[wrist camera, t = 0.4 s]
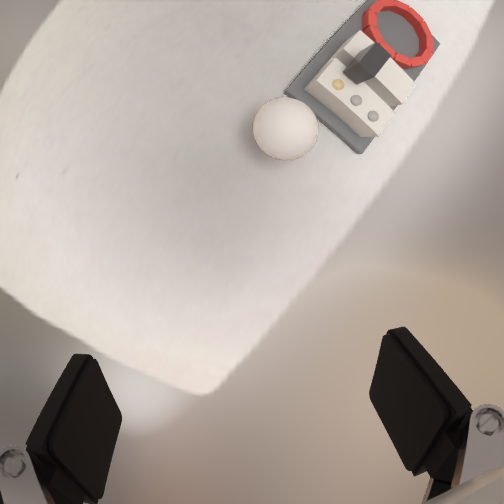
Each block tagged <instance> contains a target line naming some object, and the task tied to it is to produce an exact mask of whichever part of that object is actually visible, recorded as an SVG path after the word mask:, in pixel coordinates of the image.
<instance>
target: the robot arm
mask: <svg viewBox="0 0 504 504" xmlns="http://www.w3.org/2000/svg"><path fill="white" fill-rule="evenodd" d="M369 395H370V400H371V402H372V404H373V406H374V408H375V410H376V411H377V413H378V415H379V417H380V419H381V421H382V423H383V425H384V427H385V429H386V431H387V433H388V434H389V436H390V438H391V440H392V442H393V444H394V446H395V448H396V450H397V452H398V454H399V456H400V458H401V460H402V462H403V464H404V466H405V468H406V469H407V470H408V471H412V473H413V475H414V476H417V475H419V474H421V473H424V472H426V471H427V472H428V474H429V475H430V480H429V483H428V486H427V489H426V492H425V495H424V497H423V500H422V503H421V504H504V411H502V409H500V408H499V407H497V406H495V405H491V404H484V405H480V406H478V407H477V408H475V409H474V411H473V410H472V409H471V404H470V402H469V401H468V400H467V399H466V397H465V396H464V395H463V394H462V392H461V391H460V390H459V389H458V387H457V386H456V385H455V384H454V383H453V381H452V380H451V379H450V378H449V376H448V375H447V374H446V373H445V372H444V371H443V369H442V368H441V367H440V366H439V365H438V364H437V362H436V361H435V360H434V359H433V358H432V356H431V355H430V354H429V353H428V352H427V351H426V350H425V348H424V347H423V346H422V345H421V344H420V343H419V342H418V340H417V339H416V338H415V337H414V336H413V335H412V334H411V333H410V331H409V330H408V329H407V328H406V327H399V328H395V329H390V330H388V331H387V334H386V335H384V336H383V339H382V342H381V347H380V351H379V356H378V360H377V364H376V368H375V372H374V376H373V380H372V383H371V387H370V391H369ZM121 422H122V415H121V412H120V410H119V408H118V406H117V404H116V402H115V399H114V398H113V395H112V393H111V391H110V389H109V387H108V385H107V382H106V380H105V378H104V376H103V373H102V371H101V368H100V366H99V364H98V362H97V360H96V359H93V357H92V356H91V355H89V354H74V355H73V356H72V358H71V359H70V361H69V363H68V364H67V366H66V368H65V369H64V371H63V373H62V375H61V377H60V378H59V380H58V382H57V383H56V385H55V387H54V389H53V391H52V393H51V394H50V396H49V398H48V400H47V402H46V404H45V406H44V407H43V409H42V411H41V413H40V415H39V417H38V419H37V421H36V423H35V425H34V427H33V429H32V431H31V433H30V435H29V437H28V440H27V442H26V445H27V448H26V450H25V449H24V448H22V447H20V446H15V445H12V446H8V447H6V448H4V449H3V450H1V451H0V504H83V502H85V503H89V504H97V503H98V499H101V498H102V497H103V494H104V489H105V484H106V481H107V476H108V472H109V468H110V463H111V459H112V456H113V452H114V448H115V444H116V441H117V437H118V433H119V430H120V426H121Z"/></svg>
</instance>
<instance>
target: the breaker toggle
mask: <svg viewBox="0 0 504 504" xmlns="http://www.w3.org/2000/svg"><path fill="white" fill-rule="evenodd" d="M390 57H391V54H390V53H388V52H387V51H386V50H385V49H384V48H383V47H382V46H381V45H380V44H379V43H378V42H377V41H376V42H374V43H373V44H371V45H370V46H368V47H366V48H365V49H363V50H362V51H360V52H359V53H358V54H357V55H356V57H355V58H354V59H353V60H352V61H351V63H350V64H349V65H348V66H347V67H346V69H345V70H344V71H343V73H344V74H346V75H347V76H348V77H349V78H350V79H351V80H352V81H354V82H355V83H356V84H359V83H362V82H364V81H367V80H369V79H371V78H374V77H375V76H376V74H377V73H378V72H379V71H380V69H381V68H382V67H383V65H384V64H385V63H386V62H387V60H388V59H389V58H390Z"/></svg>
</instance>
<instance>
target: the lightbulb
mask: <svg viewBox="0 0 504 504" xmlns="http://www.w3.org/2000/svg"><path fill="white" fill-rule="evenodd" d="M253 133H254V138H255V140H256V142H257V144H258V146H259V147H260V148H261V149H262V150H263V151H264V152H265V153H266V154H268V155H269V156H271V157H273V158H276V159H280V160H294V159H297V158H300V157H302V156H304V155H305V154H307V153H308V152H309V151H310V150H311V149H312V147H313V146H314V144H315V142H316V140H317V137H318V122H317V119H316V117H315V115H314V113H313V111H312V110H311V109H310V108H309V107H308V106H307V105H306V104H304V103H303V102H301V101H299V100H297V99H293V98H286V97H282V98H276V99H273V100H271V101H269V102H267V103H266V104H264V105H263V106H262V107H261V108H260V110H259V111H258V112H257V114H256V116H255V119H254V123H253Z"/></svg>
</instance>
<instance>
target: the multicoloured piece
mask: <svg viewBox="0 0 504 504" xmlns="http://www.w3.org/2000/svg"><path fill="white" fill-rule="evenodd" d="M423 20H424V19H423V18H422V17H421V16H420V15H419V14H418V13H417V12H416V11H415V10H414V9H413V8H412V7H410V6H408V5H406V4H404V3H402V2H400V1H397V0H367V1H366V2H365V3H364V4H363V5H362V6H361V7H360V8H359V9H358V10H357V11H356V12H355V13H354V14H353V16H352V17H351V18H350V19H349V20H348V21H347V22H346V23H345V24H344V25H343V26H342V27H341V28H340V29H339V30H338V31H337V32H336V34H335V35H334V36H333V37H332V38H331V39H330V40H329V41H328V42H327V43H326V44H325V46H324V47H323V48H322V49H321V50H320V51H319V52H318V53H317V55H316V56H315V57H314V58H313V59H312V60H311V61H310V62H309V64H308V65H307V66H306V67H305V68H304V69H303V71H302V72H301V73H300V74H299V75H298V76H297V78H296V79H295V80H294V81H293V82H292V84H291V85H290V86H289V87H288V88H287V90H286V91H285V92H284V93H285V94H286V95H288V96H289V97H290V98H293V99H297V100H299V101H301V102H303V103H304V104H306V105H307V106H308V107H309V108H310V109H311V110H312V111H313V113H314V115H315V117H316V118H317V119H318V120H319V121H321V122H322V123H323V124H324V125H325V126H327V127H328V128H329V129H330V130H331V131H332V132H334V133H335V134H336V135H337V136H338V137H339V138H340V139H342V140H343V141H344V142H345V143H346V144H347V145H348V146H349V147H350V148H352V149H353V150H354V151H355V152H356V153H357V154H362V153H363V152H364V151H365V149H366V148H367V146H368V145H369V144H370V142H371V141H372V140H373V138H374V137H376V136H380V135H381V133H382V132H383V131H384V129H385V128H386V126H387V125H388V124H389V122H390V121H391V119H392V118H393V117H394V115H395V114H396V113H395V112H394V109H395V108H396V107H397V105H400V104H403V103H404V101H405V100H406V98H407V97H408V95H409V94H410V93H411V91H412V90H413V88H414V87H415V85H416V83H415V82H414V81H415V80H416V78H417V77H418V75H419V74H420V72H421V71H422V70H423V68H424V67H425V65H426V64H427V62H428V61H429V59H430V58H431V57H432V55H433V54H434V52H435V51H436V49H437V48H438V46H439V45H440V43H439V42H438V41H437V40H436V39H435V38H434V37H433V35H432V34H431V32H430V30H429V28H428V26H427V24H426V22H425V21H423ZM376 41H377V42H378V43H379V44H380V45H381V46H382V47H383V48H384V49H385V50H386V51H387V52H388V53H390V54H391V57H390V58H389V59H388V60H387V62H386V63H385V64H384V65H383V67H382V68H381V69H380V71H379V72H378V73H377V74H376V76H375V77H374V78H371V79H369V80H367V81H364V82H362V83H359V84H356V83H355V82H354V81H352V80H351V79H350V78H349V77H348V76H347V75H346V74H344V73H343V71H344V70H345V69H346V67H347V66H348V65H349V64H350V63H351V61H352V60H353V59H354V58H355V57H356V55H357V54H358V53H359V52H360V51H362V50H363V49H365V48H366V47H368V46H370V45H371V44H373V43H374V42H376Z"/></svg>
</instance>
